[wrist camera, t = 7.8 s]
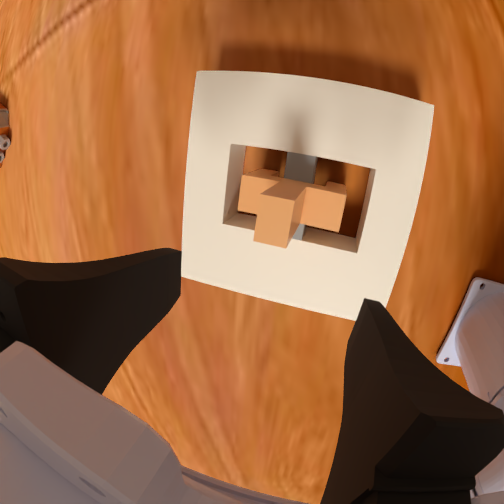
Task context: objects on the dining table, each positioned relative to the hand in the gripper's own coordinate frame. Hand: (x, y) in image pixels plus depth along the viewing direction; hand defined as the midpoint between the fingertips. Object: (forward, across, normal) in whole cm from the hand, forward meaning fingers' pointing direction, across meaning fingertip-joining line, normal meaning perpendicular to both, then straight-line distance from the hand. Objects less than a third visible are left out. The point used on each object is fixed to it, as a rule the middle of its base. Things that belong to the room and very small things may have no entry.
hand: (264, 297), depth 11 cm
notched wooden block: (+10, 0, -2) cm, 10 cm away
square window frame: (+10, 0, -2) cm, 11 cm away
